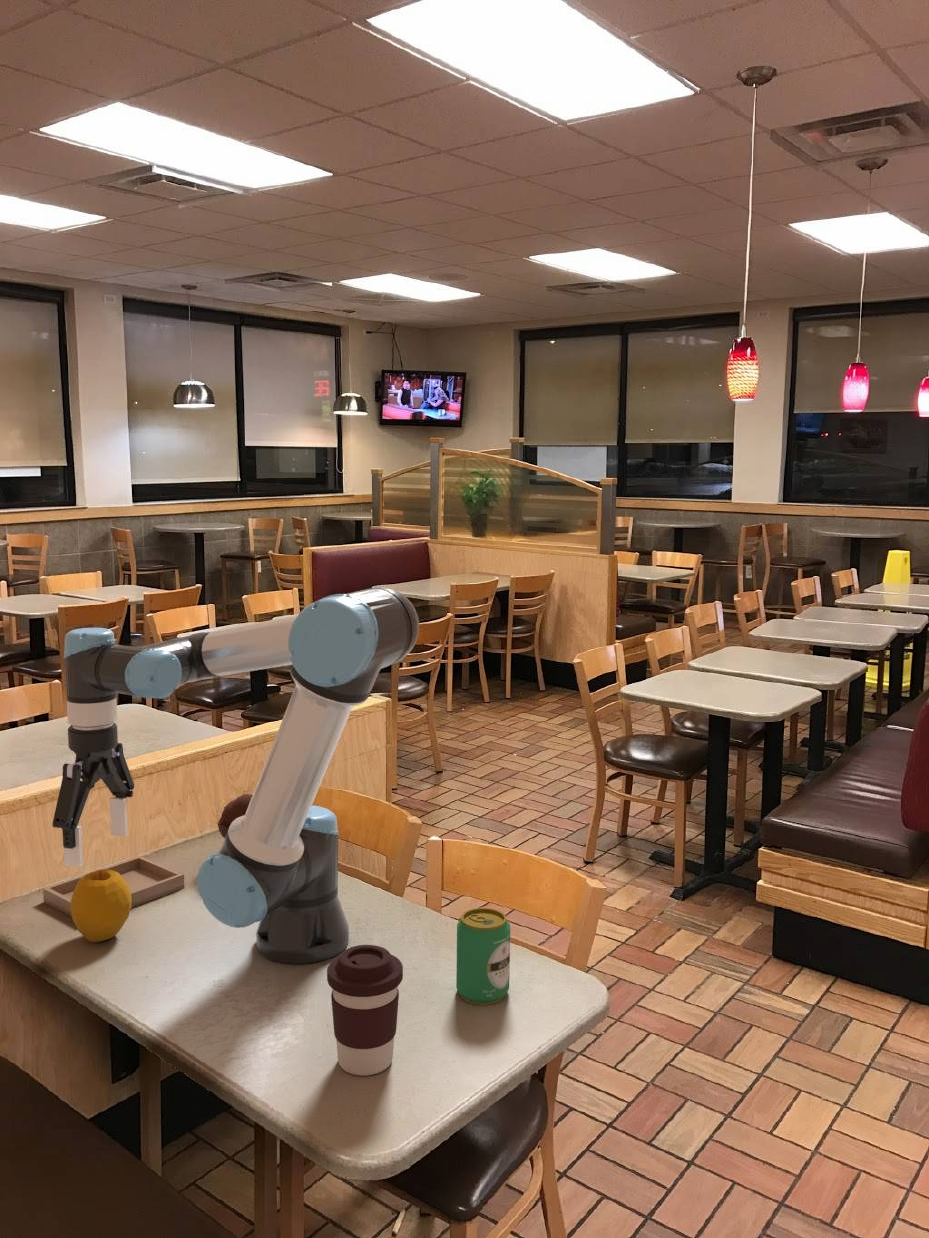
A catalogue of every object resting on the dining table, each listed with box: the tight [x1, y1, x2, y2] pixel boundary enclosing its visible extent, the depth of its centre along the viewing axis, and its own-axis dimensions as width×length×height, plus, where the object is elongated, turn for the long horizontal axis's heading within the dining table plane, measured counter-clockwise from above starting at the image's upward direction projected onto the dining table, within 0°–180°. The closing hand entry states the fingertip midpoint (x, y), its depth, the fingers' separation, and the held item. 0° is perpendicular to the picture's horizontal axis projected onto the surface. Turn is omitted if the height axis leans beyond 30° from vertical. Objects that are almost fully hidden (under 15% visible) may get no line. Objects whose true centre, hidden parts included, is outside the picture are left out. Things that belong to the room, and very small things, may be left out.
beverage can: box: [455, 907, 511, 1006], centre depth 152 cm, size 8×8×12 cm
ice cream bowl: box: [217, 793, 253, 839], centre depth 199 cm, size 11×11×15 cm
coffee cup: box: [326, 944, 404, 1077], centre depth 134 cm, size 10×10×15 cm
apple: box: [70, 869, 132, 943], centre depth 168 cm, size 10×10×12 cm
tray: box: [42, 855, 185, 918], centre depth 186 cm, size 20×14×3 cm
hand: (97, 849), depth 167 cm, fingers open, 13 cm apart
